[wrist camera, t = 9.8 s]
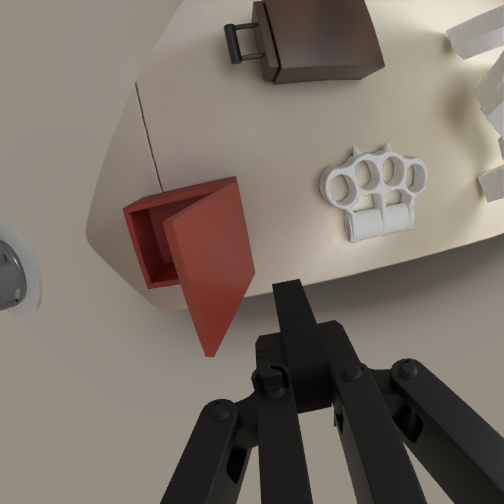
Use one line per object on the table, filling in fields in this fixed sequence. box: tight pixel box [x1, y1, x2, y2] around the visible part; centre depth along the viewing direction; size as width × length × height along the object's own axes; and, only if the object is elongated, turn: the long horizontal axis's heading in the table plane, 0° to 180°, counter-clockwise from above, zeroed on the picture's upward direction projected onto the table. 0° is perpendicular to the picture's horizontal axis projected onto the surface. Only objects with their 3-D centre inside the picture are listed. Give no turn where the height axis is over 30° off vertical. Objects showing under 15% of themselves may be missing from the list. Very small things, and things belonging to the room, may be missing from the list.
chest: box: [123, 176, 237, 289], centre depth 38 cm, size 15×12×8 cm
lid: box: [163, 182, 255, 357], centre depth 27 cm, size 16×12×1 cm
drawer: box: [224, 1, 279, 81], centre depth 29 cm, size 17×10×7 cm, turn 101°
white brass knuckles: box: [319, 142, 428, 243], centre depth 39 cm, size 3×18×15 cm
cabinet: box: [262, 0, 385, 85], centre depth 29 cm, size 14×12×9 cm
